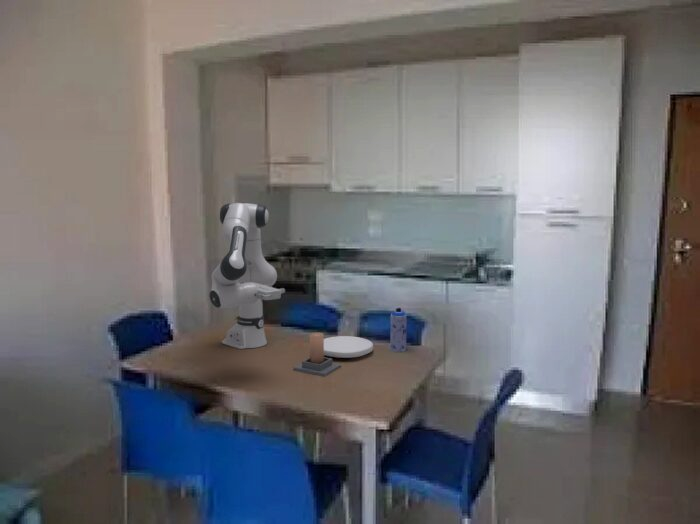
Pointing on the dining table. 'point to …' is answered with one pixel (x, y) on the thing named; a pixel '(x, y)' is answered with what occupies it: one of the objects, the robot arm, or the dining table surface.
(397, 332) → the aerosol can
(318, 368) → the grey square tray
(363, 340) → the plate
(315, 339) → the salmon pink cylinder
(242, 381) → the dining table surface
